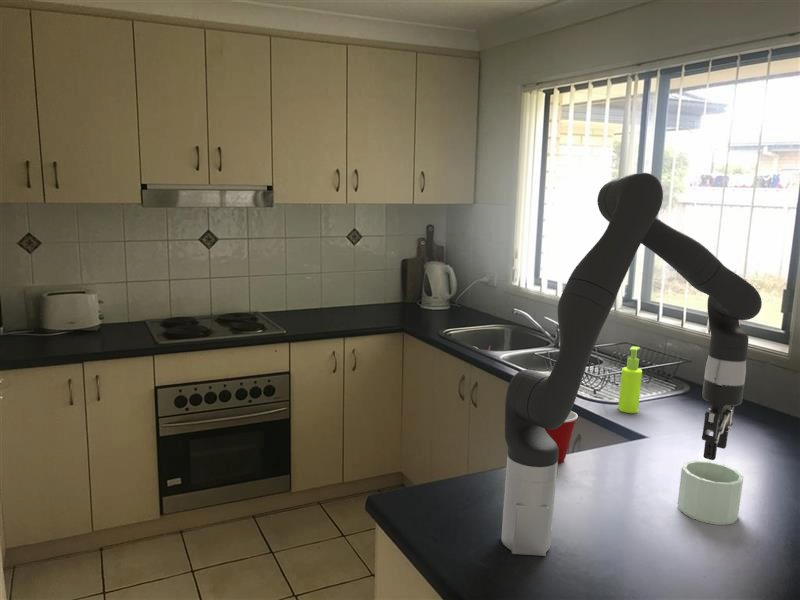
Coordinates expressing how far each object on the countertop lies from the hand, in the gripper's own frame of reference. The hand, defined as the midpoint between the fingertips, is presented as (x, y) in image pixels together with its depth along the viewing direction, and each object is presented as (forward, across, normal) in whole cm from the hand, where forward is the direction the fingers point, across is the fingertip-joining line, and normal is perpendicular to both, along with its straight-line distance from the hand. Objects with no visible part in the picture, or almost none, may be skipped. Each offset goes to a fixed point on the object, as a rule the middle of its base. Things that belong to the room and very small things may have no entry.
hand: (714, 453), depth 141 cm
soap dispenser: (+13, -55, -38) cm, 68 cm away
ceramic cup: (+13, 0, 0) cm, 13 cm away
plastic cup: (+14, -2, -38) cm, 40 cm away
